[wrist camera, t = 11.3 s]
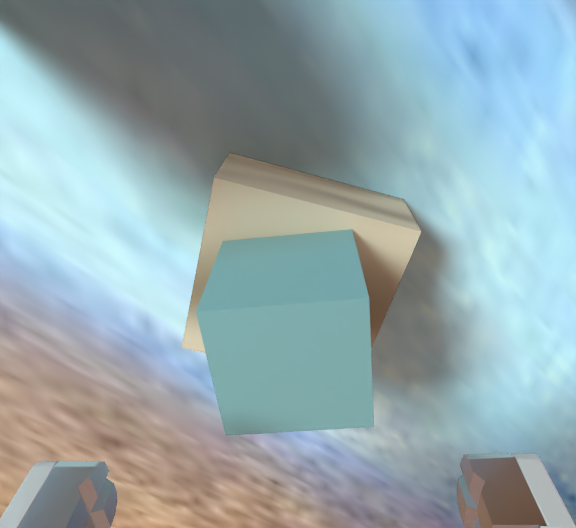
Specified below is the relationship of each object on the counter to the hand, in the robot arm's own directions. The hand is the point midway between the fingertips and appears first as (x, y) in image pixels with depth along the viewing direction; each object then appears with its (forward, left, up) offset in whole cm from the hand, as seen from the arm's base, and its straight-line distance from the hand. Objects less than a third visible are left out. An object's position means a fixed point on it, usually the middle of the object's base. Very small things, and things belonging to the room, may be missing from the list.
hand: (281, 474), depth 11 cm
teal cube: (0, 0, -9) cm, 9 cm away
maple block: (+1, 0, -13) cm, 13 cm away
